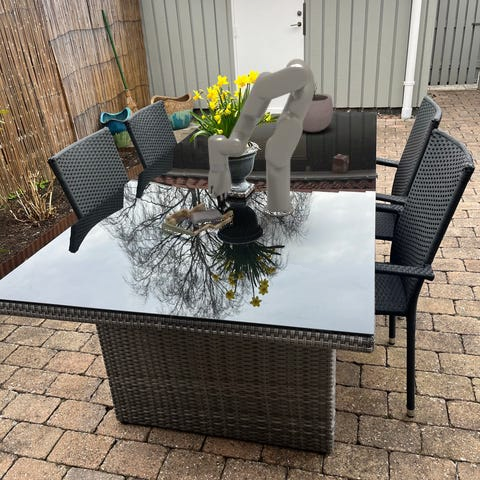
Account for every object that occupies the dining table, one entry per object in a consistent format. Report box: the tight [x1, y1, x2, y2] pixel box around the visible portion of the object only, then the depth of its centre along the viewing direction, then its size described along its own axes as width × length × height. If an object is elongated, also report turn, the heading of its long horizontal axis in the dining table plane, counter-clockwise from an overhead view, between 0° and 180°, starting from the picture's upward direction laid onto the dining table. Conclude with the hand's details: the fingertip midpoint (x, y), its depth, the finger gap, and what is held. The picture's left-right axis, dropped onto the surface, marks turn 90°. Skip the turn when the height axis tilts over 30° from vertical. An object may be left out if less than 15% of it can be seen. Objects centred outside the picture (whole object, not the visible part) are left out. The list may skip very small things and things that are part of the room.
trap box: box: [162, 202, 234, 236], centre depth 190 cm, size 24×23×4 cm
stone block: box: [190, 208, 223, 228], centre depth 194 cm, size 12×5×10 cm
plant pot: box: [302, 84, 334, 133], centre depth 291 cm, size 24×24×30 cm
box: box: [331, 153, 350, 174], centre depth 234 cm, size 6×6×7 cm
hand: (222, 207), depth 201 cm, fingers closed
